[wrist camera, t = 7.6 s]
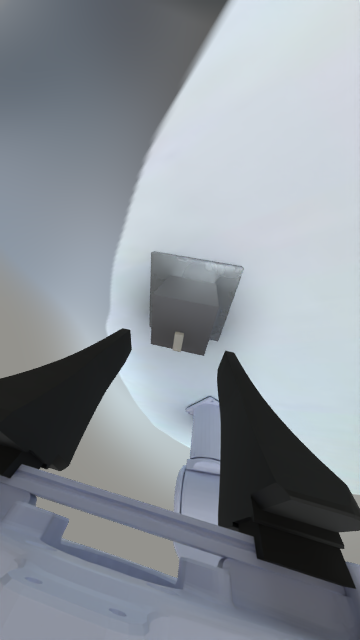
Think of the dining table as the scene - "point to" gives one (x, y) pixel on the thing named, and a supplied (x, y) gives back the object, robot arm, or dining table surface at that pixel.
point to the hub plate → (202, 271)
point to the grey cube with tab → (184, 314)
